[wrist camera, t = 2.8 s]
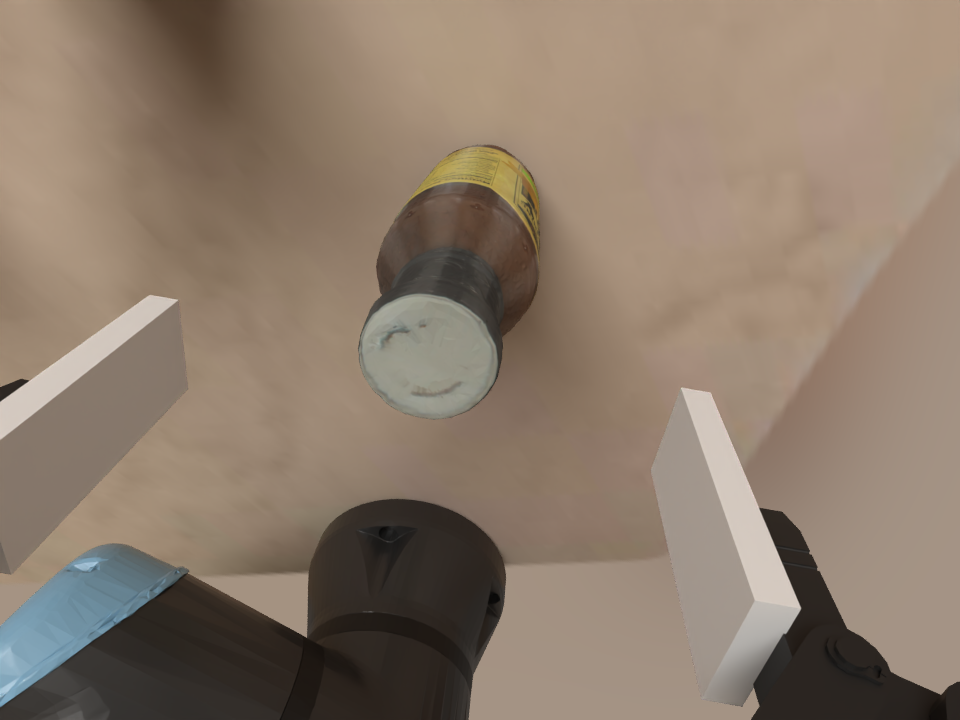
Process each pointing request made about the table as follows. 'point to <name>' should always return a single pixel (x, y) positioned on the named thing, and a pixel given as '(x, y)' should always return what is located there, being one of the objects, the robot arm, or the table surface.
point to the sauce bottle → (453, 284)
